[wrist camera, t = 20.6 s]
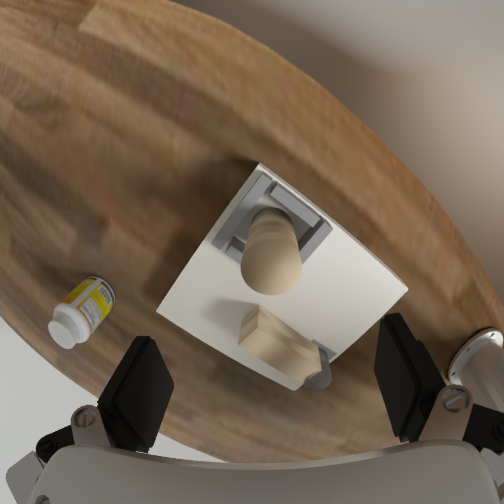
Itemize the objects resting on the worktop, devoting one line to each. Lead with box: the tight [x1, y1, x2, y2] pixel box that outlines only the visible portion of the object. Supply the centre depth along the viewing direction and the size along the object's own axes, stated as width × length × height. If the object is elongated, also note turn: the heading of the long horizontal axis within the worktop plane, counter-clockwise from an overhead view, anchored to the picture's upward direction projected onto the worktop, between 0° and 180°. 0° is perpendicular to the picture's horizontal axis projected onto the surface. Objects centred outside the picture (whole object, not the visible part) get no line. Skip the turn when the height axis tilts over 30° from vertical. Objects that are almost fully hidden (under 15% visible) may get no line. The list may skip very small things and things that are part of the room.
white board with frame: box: [156, 163, 408, 391], centre depth 30 cm, size 21×20×6 cm
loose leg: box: [240, 207, 302, 295], centre depth 23 cm, size 4×4×9 cm
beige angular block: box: [238, 305, 332, 390], centre depth 30 cm, size 12×3×4 cm, turn 51°
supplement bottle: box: [48, 276, 115, 349], centre depth 30 cm, size 6×6×10 cm
